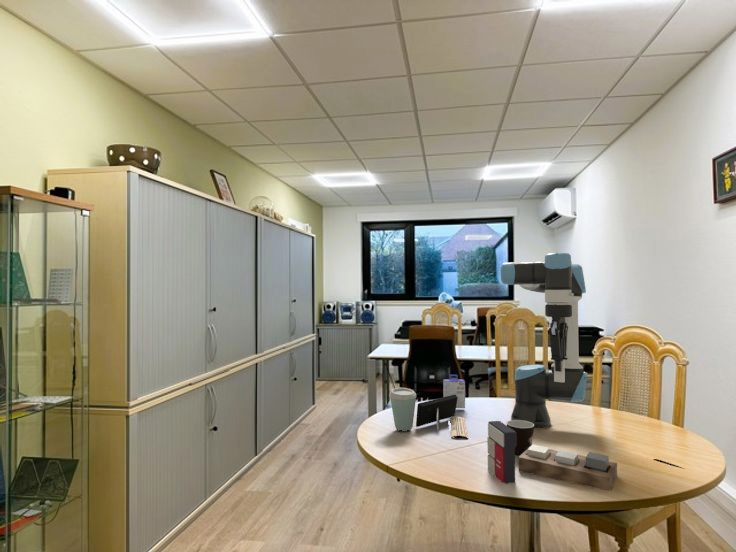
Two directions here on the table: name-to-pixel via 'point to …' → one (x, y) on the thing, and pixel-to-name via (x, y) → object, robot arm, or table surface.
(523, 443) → the coffee mug
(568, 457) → the key grey
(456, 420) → the tan curved ridged slab
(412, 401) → the disposable coffee cup
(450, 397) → the picture frame
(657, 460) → the pen
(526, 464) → the brown wooden block holder
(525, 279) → the robot arm
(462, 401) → the ink cartridge box
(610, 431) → the table surface
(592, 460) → the key charcoal
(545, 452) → the key white
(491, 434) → the grey and red box
